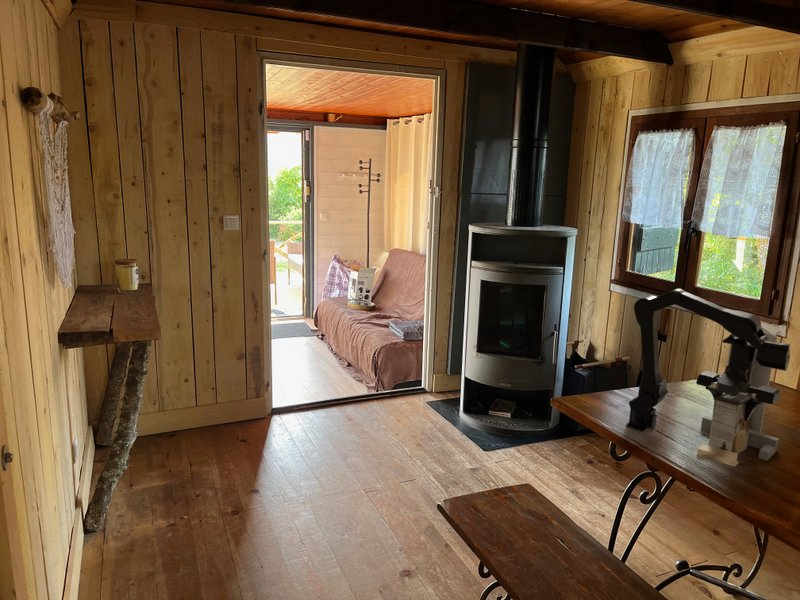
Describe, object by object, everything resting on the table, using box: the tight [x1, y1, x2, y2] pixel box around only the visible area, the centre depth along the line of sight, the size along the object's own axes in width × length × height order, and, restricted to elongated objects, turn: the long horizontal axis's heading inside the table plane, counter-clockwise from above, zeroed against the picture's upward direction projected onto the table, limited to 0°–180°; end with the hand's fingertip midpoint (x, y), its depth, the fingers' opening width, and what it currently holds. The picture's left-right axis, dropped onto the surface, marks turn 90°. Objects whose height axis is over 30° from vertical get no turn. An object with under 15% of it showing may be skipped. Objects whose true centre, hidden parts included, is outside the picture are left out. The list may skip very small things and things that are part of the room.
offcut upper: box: [696, 443, 739, 465], centre depth 154 cm, size 9×4×2 cm, turn 54°
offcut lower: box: [693, 449, 739, 467], centre depth 154 cm, size 10×4×2 cm, turn 44°
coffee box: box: [708, 393, 752, 454], centre depth 158 cm, size 9×6×16 cm
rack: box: [700, 415, 780, 462], centre depth 162 cm, size 19×8×5 cm, turn 42°
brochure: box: [740, 325, 778, 433], centre depth 174 cm, size 14×6×30 cm, turn 168°
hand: (732, 416), depth 157 cm, fingers closed on coffee box, 6 cm apart
